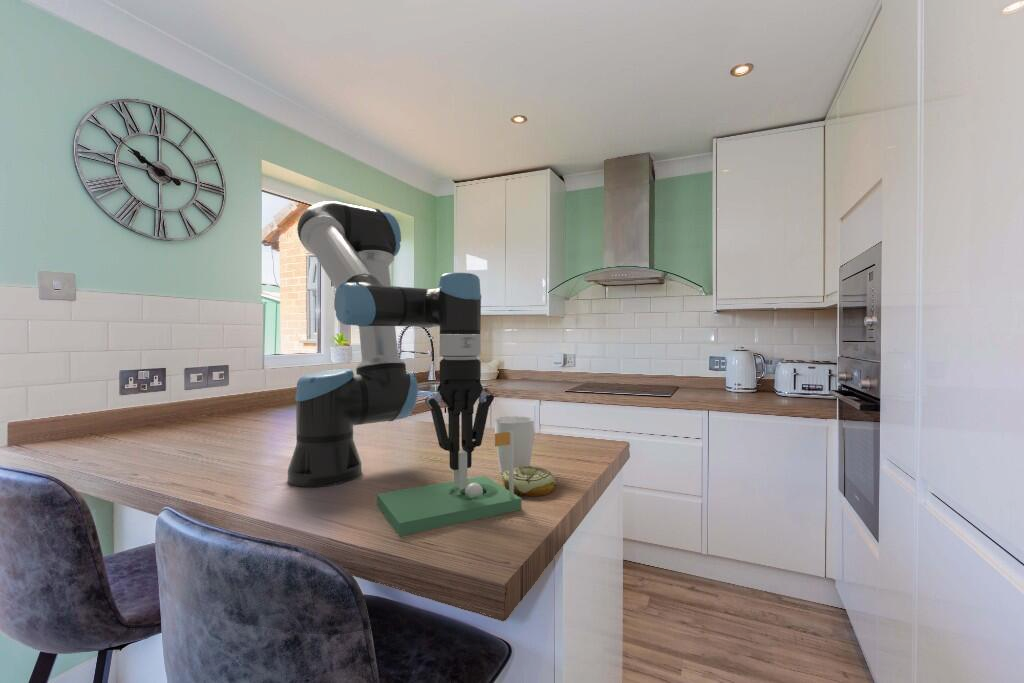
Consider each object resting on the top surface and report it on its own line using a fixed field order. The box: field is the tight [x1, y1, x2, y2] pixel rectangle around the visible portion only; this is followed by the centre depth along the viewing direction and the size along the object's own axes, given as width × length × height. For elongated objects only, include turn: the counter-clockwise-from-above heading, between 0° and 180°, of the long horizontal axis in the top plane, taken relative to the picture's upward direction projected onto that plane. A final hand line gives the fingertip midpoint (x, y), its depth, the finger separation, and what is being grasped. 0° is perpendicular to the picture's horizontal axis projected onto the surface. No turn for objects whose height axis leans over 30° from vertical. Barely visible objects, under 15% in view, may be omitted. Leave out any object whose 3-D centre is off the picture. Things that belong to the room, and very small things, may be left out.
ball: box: [465, 483, 483, 496], centre depth 85 cm, size 3×3×3 cm
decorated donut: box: [501, 465, 556, 497], centre depth 92 cm, size 10×11×4 cm
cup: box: [494, 415, 535, 475], centre depth 103 cm, size 9×9×12 cm
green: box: [376, 431, 522, 537], centre depth 82 cm, size 15×22×14 cm
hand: (460, 486), depth 83 cm, fingers closed
